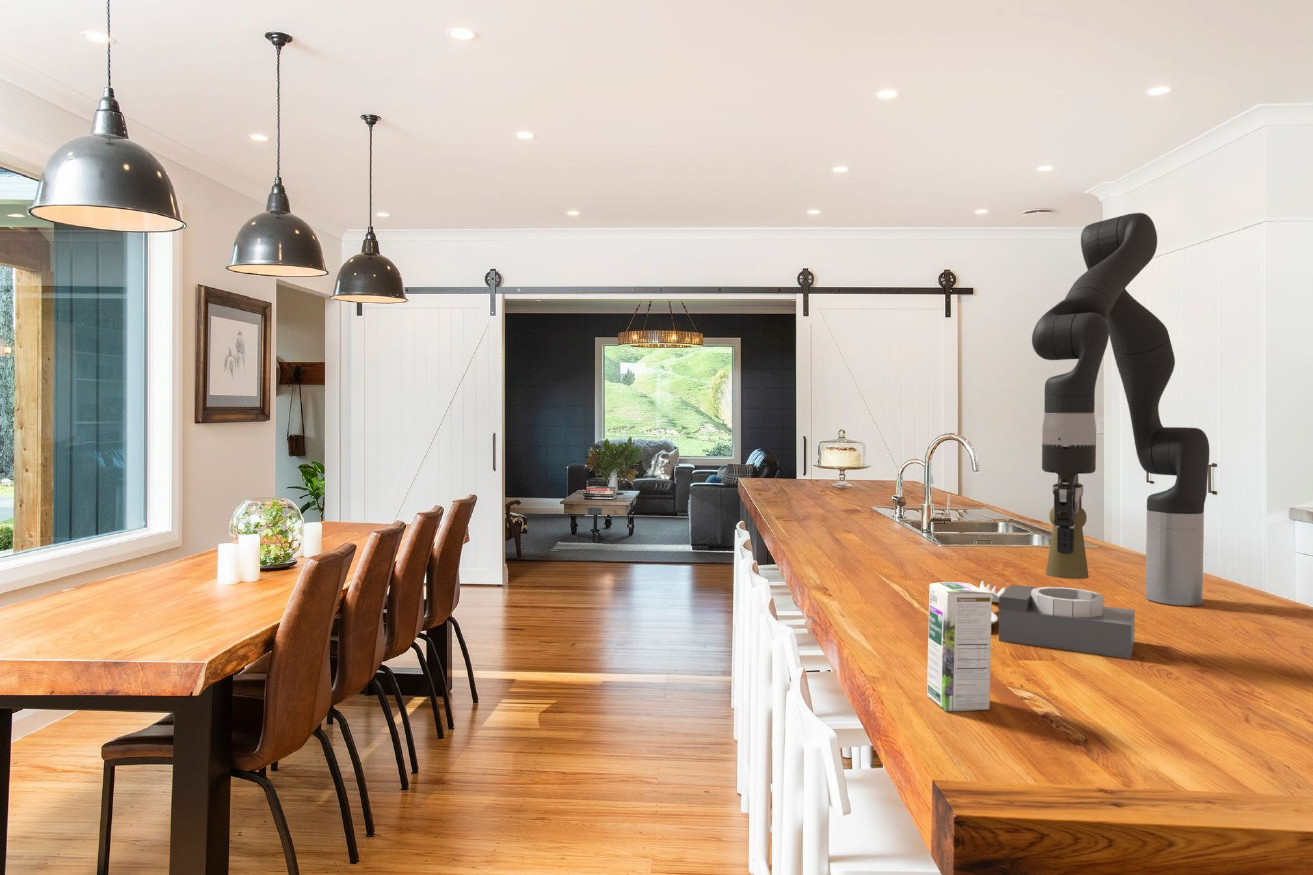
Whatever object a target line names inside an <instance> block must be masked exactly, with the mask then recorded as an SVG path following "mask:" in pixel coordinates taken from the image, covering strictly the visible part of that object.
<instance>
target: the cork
mask: <svg viewBox="0 0 1313 875" xmlns="http://www.w3.org/2000/svg"><path fill="white" fill-rule="evenodd" d="M1053 508H1054V506H1053V507H1051V509H1050V511H1049V518H1048V519H1049V521H1050V523H1051V524H1052V526H1053V527H1052V532H1051V538H1050V543H1049V544H1050V545H1049V551H1048V555H1047V556H1048V557H1047V564H1046V570H1045V575H1046V576H1049V577H1053V578H1058V579H1067V580H1085V579H1088V578H1089V570H1088V568H1089V567H1088V561H1087V560H1088V559H1087V554H1086V546H1085V540H1084V539H1085V538H1084V531H1083V527H1084V526H1085V525H1086V522H1087V517H1088V516H1087V513H1086V511H1085V509H1084V508H1083V507H1082V508H1081V507H1079V514H1078V515H1075V527H1074V529H1073V530H1074V551H1073V553H1071V554H1065V553H1059V552H1058V551H1057V529H1059V528H1056V526H1055V523H1054V520H1055V513H1054V510H1053ZM1061 518H1069V514H1061Z"/></svg>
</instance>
